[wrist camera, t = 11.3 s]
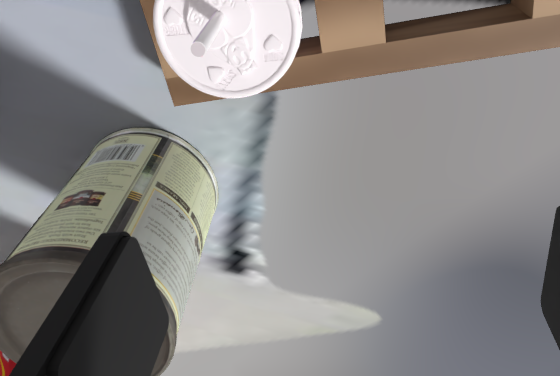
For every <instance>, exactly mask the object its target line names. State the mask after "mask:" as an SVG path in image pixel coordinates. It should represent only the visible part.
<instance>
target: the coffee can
mask: <svg viewBox="0 0 560 376" xmlns="http://www.w3.org/2000/svg"><path fill="white" fill-rule="evenodd" d="M218 198H219V193H218V185H217V181H216V178H215V175H214V173H213V171H212V169H211V167H210V165H209V164H208V162H207V161H206V160H205V159H204V157H203V156H202V155H201V154H200V152H199V151H197V150H196V149H195V148H193V147H192V146H191V145H190V144H189V143H187V142H185V141H184V140H182V139H181V138H179V137H177V136H175V135H173V134H170V133H168V132H165V131H161V130H157V129H152V128H129V129H124V130H120V131H117V132H115V133H112V134H110V135H109V136H107V137H105V138H104V139H102V140H101V141H100V142H99V143H98V144H97V145H96V146H95V147H94V148H93V150H92V151H91V153H90V155H89V157H88V158H87V159H86V160H85V161H84V163H83V164H82V165H81V166H80V168H79V169H78V170H77V172H76V173H75V174H74V175H73V176H72V178H71V179H70V180H69V181H68V183H67V184H66V185H65V186H64V188H63V189H62V190H61V191H60V193H59V194H58V195H57V196H56V198H55V199H54V200H53V201H52V203H51V204H50V205H49V206H48V208H47V209H46V210H45V211H44V213H43V214H42V215H41V216H40V217H39V218H38V220H37V221H36V222H35V223H34V225H33V226H32V227H31V229H30V230H29V231H28V232H27V234H26V235H25V236H24V237H23V239H22V240H21V241H20V243H19V244H18V245H17V246H16V248H15V249H14V250H13V252H12V253H11V254H10V255H9V257H8V258H7V259H6V260H5V261H4V263H2V264H1V265H0V351H1V352H2V353H4V354H5V355H6V356H7V357H8V358H9V359H11V360H12V361H13V362H15V363H16V364H17V362H18V361H19V359H20V358H21V356H22V354H23V353H24V351H25V350H26V348H27V347H28V345H29V344H30V342H31V340H32V339H33V337H34V336H35V334H36V333H37V331H38V330H39V328H40V327H41V325H42V323H43V322H44V320H45V319H46V317H47V316H48V314H49V313H50V311H51V310H52V308H53V306H54V305H55V303H56V302H57V300H58V299H59V297H60V296H61V294H62V293H63V291H64V289H65V288H66V286H67V285H68V283H69V282H70V280H71V279H72V277H73V276H74V274H75V272H76V271H77V269H78V268H79V266H80V265H81V263H82V262H83V260H84V258H85V257H86V255H87V254H88V252H89V251H90V249H91V248H92V246H93V245H94V243H95V241H96V240H97V238H98V237H99V236H100V235H101V234H102V233H108V232H121V231H125V232H128V233H129V234H130V236H131V237H135V238H136V239H137V240H138V242H139V245H140V247H141V250H142V252H143V254H144V257H145V259H146V262H147V264H148V266H149V269H150V271H151V274H152V276H153V278H154V281H155V283H156V286H157V288H158V290H159V293H160V295H161V298H162V300H163V302H164V305H165V307H166V310H167V312H168V315H169V326H168V330H167V332H166V335H165V338H164V341H163V343H162V346H161V349H160V351H159V354H158V357H157V360H156V362H155V365H154V368H153V370H152V373H151V376H160V375H161V374H162V373H163V372H164V371H165V370H166V368H167V367H168V366H169V364H170V362H171V360H172V357H173V355H174V350H175V346H176V338H177V332H178V329H179V326H180V323H181V319H182V316H183V313H184V309H185V306H186V303H187V299H188V296H189V293H190V289H191V286H192V283H193V279H194V276H195V273H196V270H197V266H198V263H199V260H200V256H201V253H202V250H203V247H204V243H205V240H206V237H207V233H208V230H209V226H210V223H211V220H212V216H213V214H214V213H215V210H216V207H217V203H218Z"/></svg>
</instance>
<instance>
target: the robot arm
mask: <svg viewBox="0 0 560 376" xmlns="http://www.w3.org/2000/svg"><path fill="white" fill-rule="evenodd" d="M541 307H542V311H543V314H544V317H545V319H546V321H547V323H548V326H549V328H550V330H551V332H552V334H553V336H554V339H555V340H556V343H557V345H558V347H559V350H560V206H559V207H558V208H557V210H556V214H555V219H554V225H553V231H552V237H551V242H550V248H549V254H548V260H547V266H546V271H545V278H544V283H543V290H542V295H541ZM168 326H169V315H168V312H167V310H166V307H165V305H164V302H163V300H162V298H161V295H160V293H159V290H158V288H157V286H156V283H155V281H154V278H153V276H152V274H151V271H150V269H149V266H148V264H147V262H146V259H145V257H144V254H143V252H142V250H141V247H140V245H139V242H138V240H137V239H136V238H135V237H131V236H130V234H129V233H128V232H125V231H121V232H108V233H102V234H101V235H100V236H99V237H98V238H97V240H96V241H95V243H94V245H93V246H92V248H91V249H90V251H89V252H88V254H87V255H86V257H85V258H84V260H83V262H82V263H81V265H80V266H79V268H78V269H77V271H76V272H75V274H74V276H73V277H72V279H71V280H70V282H69V283H68V285H67V286H66V288H65V289H64V291H63V293H62V294H61V296H60V297H59V299H58V300H57V302H56V303H55V305H54V306H53V308H52V310H51V311H50V313H49V314H48V316H47V317H46V319H45V320H44V322H43V323H42V325H41V327H40V328H39V330H38V331H37V333H36V334H35V336H34V337H33V339H32V340H31V342H30V344H29V345H28V347H27V348H26V350H25V351H24V353H23V354H22V356H21V358H20V359H19V361H18V362H17V364H16V365H15V367H14V368H13V370H12V371H11V373H10V375H9V376H151V373H152V370H153V368H154V365H155V362H156V360H157V357H158V354H159V351H160V349H161V346H162V343H163V341H164V338H165V335H166V332H167V330H168Z"/></svg>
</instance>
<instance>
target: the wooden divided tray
mask: <svg viewBox="0 0 560 376" xmlns="http://www.w3.org/2000/svg"><path fill="white" fill-rule="evenodd" d="M154 2H155V0H140V3H141V6H142V9H143V12H144V15H145V18H146V21H147V24H148V27H149V30H150V33H151V36H152V40H153V43H154V46H155V49H156V52H157V55H158V58H159V61H160V64H161V67H162V70H163V73H164V76H165V79H166V82H167V85H168V88H169V91H170V94H171V97H172V100H173V103H174V106H180V105H186V104H193V103H199V102H206V101H212V100H219V99H225V98H222V97H217V96H213V95H209V94H207V93H204V92H202V91H199V90H197V89H196V88H194V87H192V86H191V85H189V84H188V83H186V82H185V81H184V80H183V79H181V78H180V77H179V76H178V75H177V74H176V73H175V72H174V70H173V69H172V68H171V67H170V65H169V64H168V63H167V61H166V60H165V58H164V56H163V54H162V52H161V50H160V48H159V46H158V43H157V40H156V36H155V31H154V24H153V9H154ZM315 7H316V14H317V21H318V28H319V35H320V36H315V37H310V38H304V39H300V44H299V48H298V50H297V52H296V55H295V58H294V60H293V62H292V64H291V65H290V67H289V69H288V70H287V71H286V73H285V74H284V75H283V76H282V77H281V78H280V79H279V80H278V81H277V82H276V83H275V84H274V85H272V86H271V87H269V88H268V89H266V90H264V91H262V92H260V93H264V92H271V91H277V90H284V89H290V88H297V87H303V86H309V85H316V84H323V83H329V82H335V81H341V80H348V79H355V78H361V77H368V76H374V75H381V74H387V73H393V72H400V71H407V70H413V69H420V68H426V67H433V66H439V65H446V64H452V63H458V62H465V61H472V60H478V59H485V58H491V57H497V56H504V55H510V54H517V53H523V52H530V51H536V50H542V49H549V48H556V47H560V0H511V2H510V3H509V4H503V5H498V6H492V7H486V8H480V9H474V10H468V11H462V12H456V13H451V14H445V15H439V16H433V17H427V18H421V19H415V20H409V21H404V22H398V23H392V24H387V25H385V22H384V8H383V0H315Z"/></svg>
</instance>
